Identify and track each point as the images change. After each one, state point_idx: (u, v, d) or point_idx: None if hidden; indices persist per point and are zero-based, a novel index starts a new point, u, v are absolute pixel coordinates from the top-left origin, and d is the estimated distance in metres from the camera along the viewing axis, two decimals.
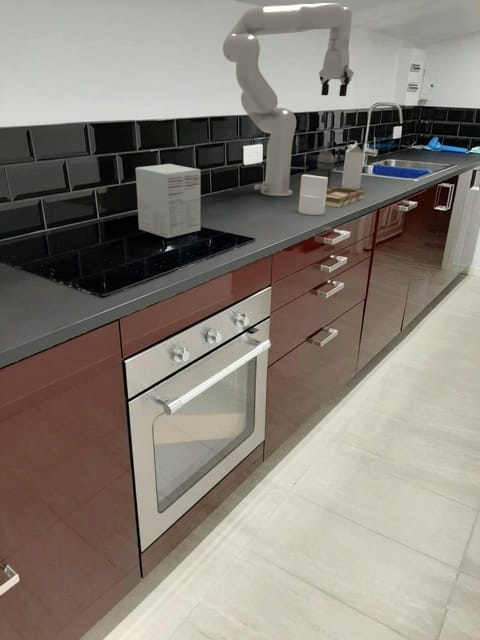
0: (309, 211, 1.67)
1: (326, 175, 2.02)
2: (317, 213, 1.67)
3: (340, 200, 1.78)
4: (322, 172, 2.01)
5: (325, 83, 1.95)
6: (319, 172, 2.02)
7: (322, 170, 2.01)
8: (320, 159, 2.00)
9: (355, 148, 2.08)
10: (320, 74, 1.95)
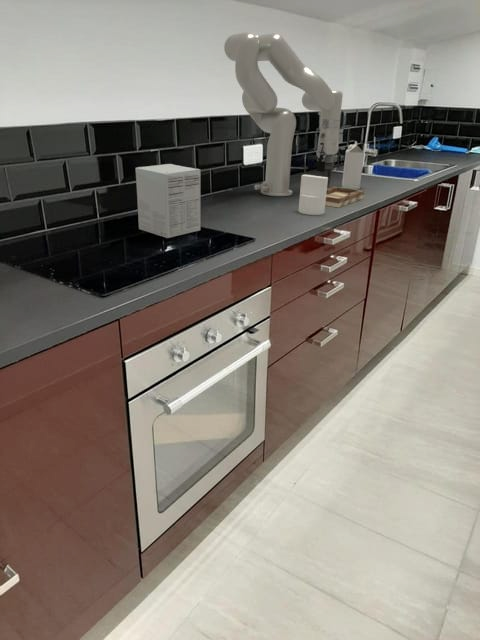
0: (309, 211, 1.67)
1: (326, 175, 2.02)
2: (317, 213, 1.67)
3: (340, 200, 1.78)
4: (323, 172, 2.01)
5: None
6: (319, 172, 2.02)
7: None
8: None
9: (355, 148, 2.08)
10: (320, 153, 1.95)
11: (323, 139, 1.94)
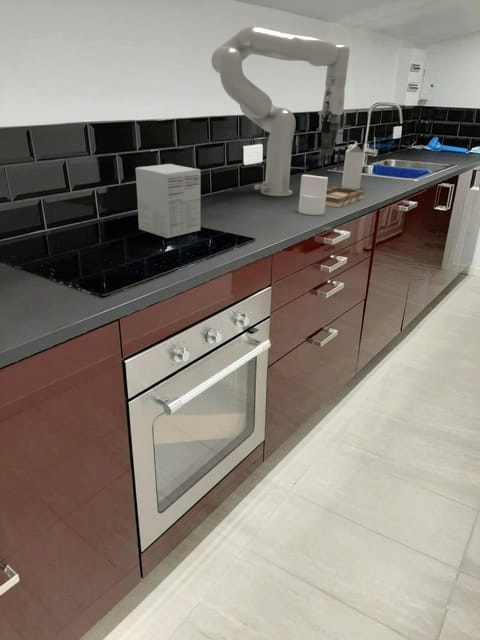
0: (309, 212, 1.67)
1: (331, 137, 1.92)
2: (317, 213, 1.67)
3: (340, 200, 1.78)
4: (327, 134, 1.92)
5: None
6: (324, 134, 1.93)
7: None
8: None
9: (355, 148, 2.08)
10: (325, 112, 1.85)
11: (329, 97, 1.85)
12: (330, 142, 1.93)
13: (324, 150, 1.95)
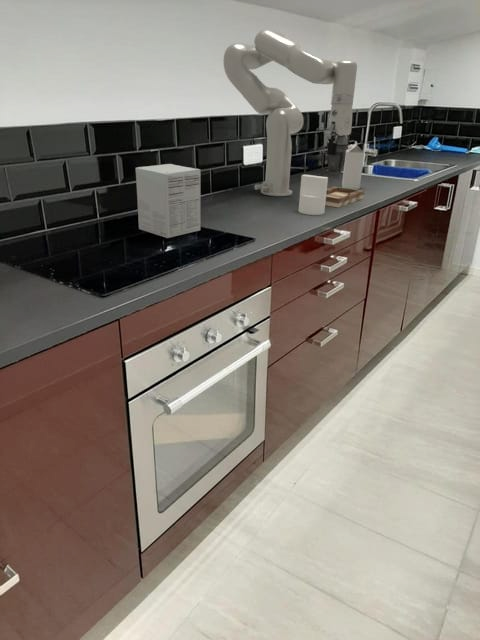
0: (309, 211, 1.67)
1: (338, 159, 1.77)
2: (317, 213, 1.67)
3: (340, 200, 1.78)
4: (334, 156, 1.77)
5: None
6: (330, 156, 1.78)
7: None
8: None
9: (355, 148, 2.08)
10: (331, 133, 1.71)
11: (335, 117, 1.70)
12: (338, 165, 1.78)
13: (331, 173, 1.80)
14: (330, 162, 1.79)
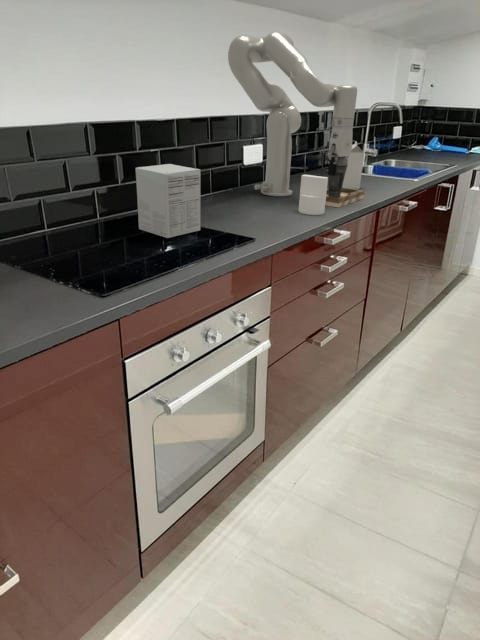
0: (309, 211, 1.67)
1: (338, 179, 1.82)
2: (317, 213, 1.67)
3: (340, 200, 1.78)
4: (334, 176, 1.82)
5: None
6: (330, 176, 1.83)
7: None
8: None
9: (355, 148, 2.08)
10: (331, 155, 1.76)
11: (335, 139, 1.75)
12: (338, 185, 1.84)
13: (331, 193, 1.86)
14: (330, 182, 1.84)
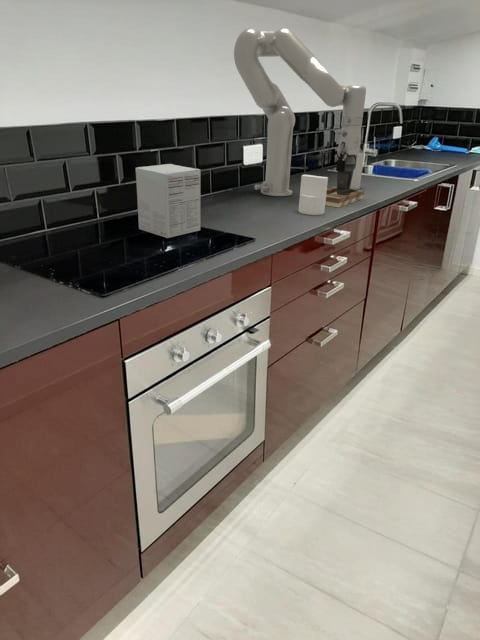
0: (309, 212, 1.67)
1: (346, 178, 1.88)
2: (317, 213, 1.67)
3: (340, 200, 1.78)
4: (343, 175, 1.88)
5: None
6: (339, 174, 1.89)
7: (343, 173, 1.88)
8: None
9: None
10: (340, 151, 1.80)
11: (345, 138, 1.81)
12: (346, 183, 1.89)
13: (340, 191, 1.91)
14: (339, 180, 1.90)
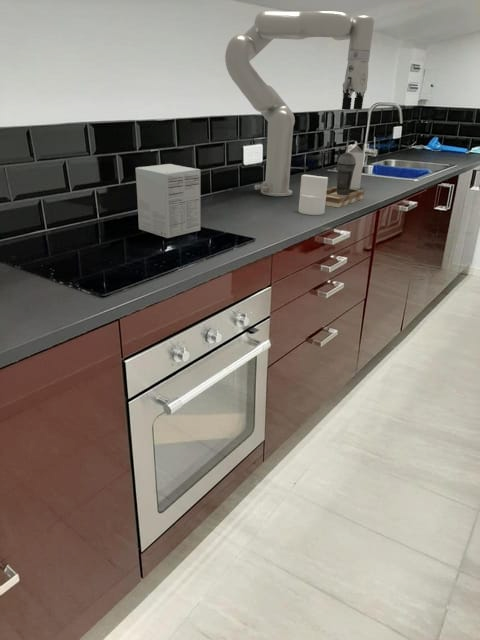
0: (309, 211, 1.67)
1: (346, 178, 1.88)
2: (317, 213, 1.67)
3: (340, 200, 1.78)
4: (343, 175, 1.88)
5: None
6: (339, 174, 1.89)
7: (343, 173, 1.88)
8: (340, 161, 1.86)
9: (355, 148, 2.08)
10: (346, 86, 1.72)
11: (351, 73, 1.72)
12: (346, 183, 1.89)
13: (340, 191, 1.91)
14: (339, 180, 1.90)
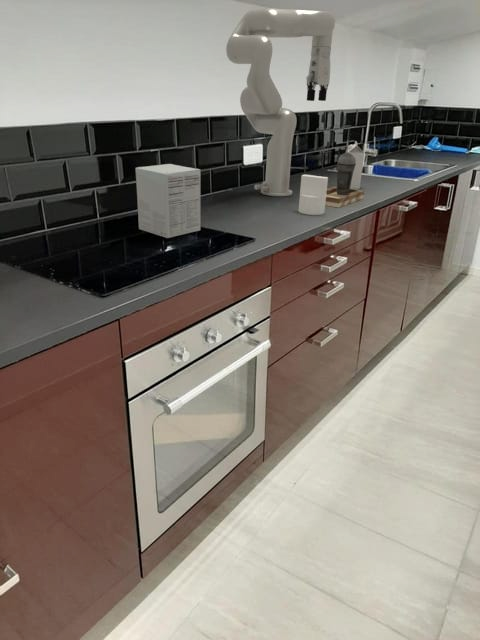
0: (309, 211, 1.67)
1: (346, 178, 1.88)
2: (317, 213, 1.67)
3: (340, 200, 1.78)
4: (343, 175, 1.88)
5: None
6: (339, 174, 1.89)
7: (343, 173, 1.88)
8: (340, 161, 1.86)
9: (355, 148, 2.08)
10: (310, 79, 1.90)
11: (314, 67, 1.91)
12: (346, 183, 1.89)
13: (340, 191, 1.91)
14: (339, 180, 1.90)
